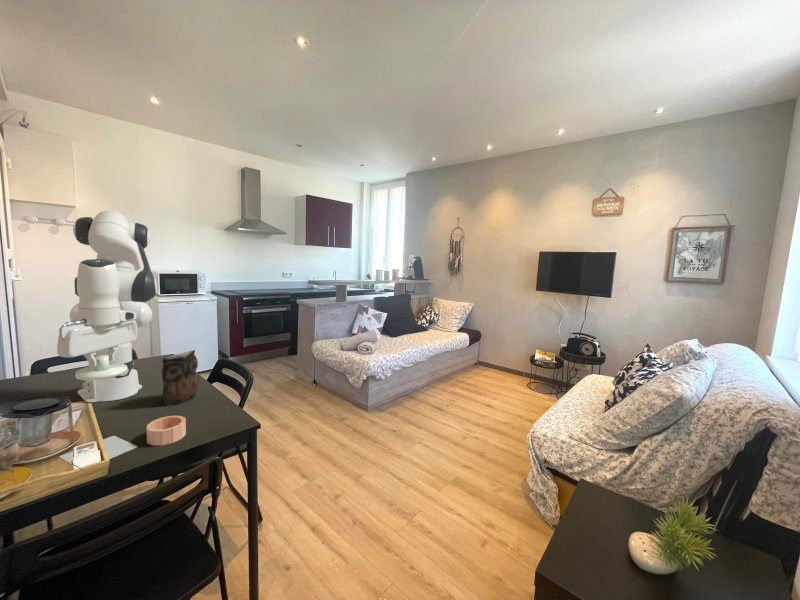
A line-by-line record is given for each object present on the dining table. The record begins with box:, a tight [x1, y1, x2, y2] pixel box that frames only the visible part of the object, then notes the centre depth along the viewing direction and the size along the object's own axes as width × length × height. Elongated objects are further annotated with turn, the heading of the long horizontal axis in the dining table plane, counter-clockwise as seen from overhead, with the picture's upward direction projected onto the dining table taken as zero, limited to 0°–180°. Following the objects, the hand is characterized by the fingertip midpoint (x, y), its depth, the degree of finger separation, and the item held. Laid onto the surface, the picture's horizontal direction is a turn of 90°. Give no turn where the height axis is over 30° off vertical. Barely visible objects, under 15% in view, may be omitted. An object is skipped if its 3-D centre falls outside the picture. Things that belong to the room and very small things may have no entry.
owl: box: [161, 349, 200, 407], centre depth 131 cm, size 13×13×20 cm
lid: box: [74, 355, 127, 381], centre depth 93 cm, size 11×11×5 cm
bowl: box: [146, 415, 187, 446], centre depth 104 cm, size 10×10×5 cm
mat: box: [58, 435, 139, 465], centre depth 95 cm, size 13×13×1 cm
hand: (102, 363), depth 93 cm, fingers closed on lid, 3 cm apart
